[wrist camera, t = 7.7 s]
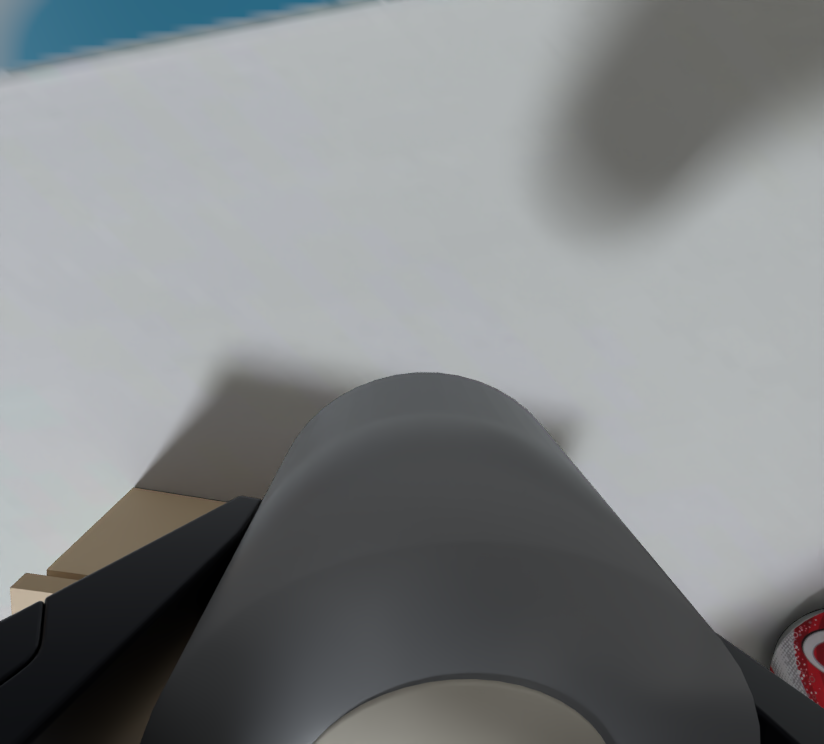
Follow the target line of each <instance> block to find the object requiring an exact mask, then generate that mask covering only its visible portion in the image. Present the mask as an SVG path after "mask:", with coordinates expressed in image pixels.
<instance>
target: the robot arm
mask: <svg viewBox="0 0 824 744" xmlns="http://www.w3.org/2000/svg"><path fill="white" fill-rule="evenodd" d="M261 502H262V500H261V499H258V498H252V497H246V496H239V497H236V498H235V499H233V500H231V501H229V502H227V503H225V504H223V505H221V506H219V507H217V508H215V509H214V510H212V511H210V512H208V513H206V514H204V515H202V516H200V517H198V518H196V519H194V520H193V521H191V522H189V523H187V524H185V525H183V526H181V527H179V528H177V529H175V530H174V531H172V532H170V533H168V534H166V535H164V536H162V537H160V538H158V539H156V540H154V541H153V542H151V543H149V544H147V545H145V546H143V547H141V548H139V549H137V550H135V551H133V552H132V553H130V554H128V555H126V556H124V557H122V558H120V559H118V560H116V561H114V562H113V563H111V564H109V565H107V566H105V567H103V568H101V569H99V570H97V571H95V572H93V573H92V574H90V575H88V576H86V577H84V578H82V579H80V580H78V581H76V582H74V583H73V584H71V585H69V586H67V587H65V588H63V589H61V590H59V591H57V592H55V593H53V594H52V595H50V596H48V597H46V598H45V601H44V602H43V601H38V602H36V603H34V604H32V605H30V606H28V607H26V608H24V609H23V610H21V611H19V612H17V613H15V614H13V615H11V616H9V617H7V618H5V619H3V620H1V621H0V744H140V743H141V739H142V736H143V734H144V731H145V729H146V726H147V723H148V721H149V718H150V715H151V713H152V710H153V708H154V706H155V704H156V702H157V700H158V698H159V696H160V695H161V693H162V691H163V689H164V687H165V685H166V683H167V681H168V679H169V677H170V675H171V674H172V672H173V670H174V668H175V666H176V664H177V662H178V660H179V658H180V656H181V655H182V653H183V651H184V649H185V647H186V645H187V643H188V641H189V639H190V637H191V636H192V634H193V632H194V630H195V628H196V626H197V624H198V622H199V620H200V618H201V616H202V615H203V613H204V611H205V609H206V607H207V605H208V603H209V601H210V599H211V597H212V596H213V594H214V592H215V590H216V588H217V586H218V584H219V582H220V580H221V578H222V576H223V575H224V573H225V571H226V569H227V567H228V565H229V563H230V561H231V559H232V557H233V556H234V554H235V552H236V550H237V548H238V546H239V544H240V542H241V540H242V538H243V537H244V535H245V533H246V531H247V529H248V527H249V525H250V523H251V521H252V519H253V517H254V516H255V514H256V512H257V510H258V508H259V506H260V504H261ZM716 634H717V633H716ZM717 635H718V634H717ZM718 637H719V638H720V639H721V640H722V642H723V643H724V645H725V646H726V648H727V649H728V651H729V652H730V653H731V655H732V656H733V658H734V659H735V661H736V662H737V664H738V665H739V667H740V668H741V671H742V673H743V675H744V677H745V680H746V682H747V684H748V687H749V689H750V691H751V693H752V696H753V699H754V703H755V708H756V712H757V717H758V721H759V725H760V744H824V708H822V707H821V706H820V705H818V704H817V703H815V702H814V701H812V700H811V699H810V698H808V697H807V696H805V695H804V694H802V693H801V692H800V691H798V690H797V689H795V688H794V687H793V686H791V685H790V684H788V683H787V682H785V681H784V680H783V679H781V678H780V677H778V676H777V675H775V674H774V673H773V672H771V671H770V670H768V669H767V668H765V667H764V666H763V665H761V664H760V663H758V662H757V661H755V660H754V659H753V658H751V657H750V656H748V655H747V654H745V653H744V652H743V651H741V650H740V649H738V648H737V647H735V646H734V645H733V644H731V643H730V642H728V641H727V640H725V639H724V638H723V637H721V636H720V635H718Z"/></svg>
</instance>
